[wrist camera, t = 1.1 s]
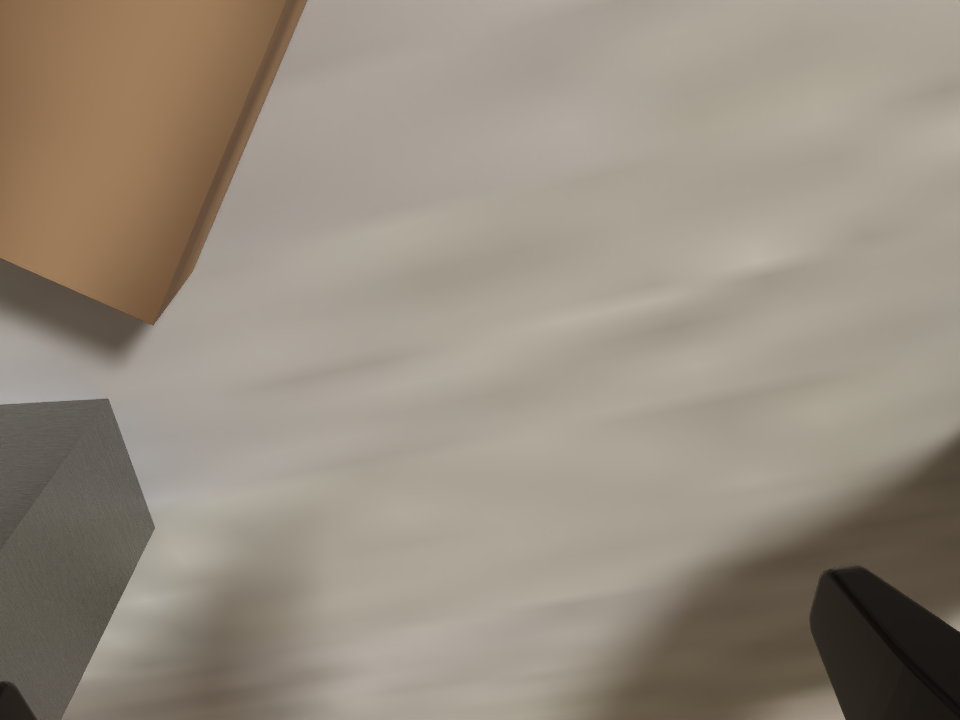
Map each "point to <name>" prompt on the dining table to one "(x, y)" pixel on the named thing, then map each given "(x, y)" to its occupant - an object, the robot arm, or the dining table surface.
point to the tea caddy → (62, 542)
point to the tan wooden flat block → (127, 134)
